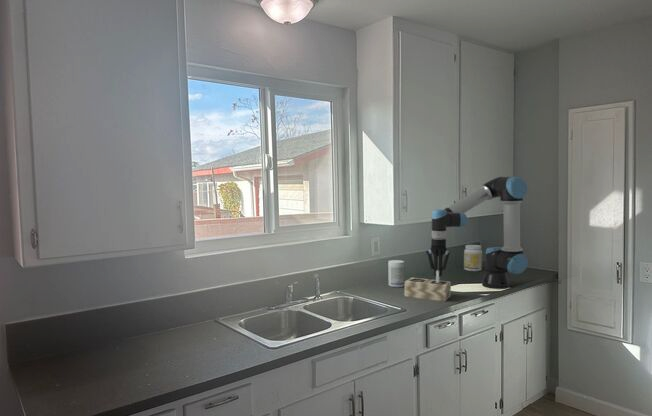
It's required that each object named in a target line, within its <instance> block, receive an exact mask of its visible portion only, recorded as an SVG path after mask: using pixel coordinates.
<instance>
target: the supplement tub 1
mask: <svg viewBox="0 0 652 416" xmlns="http://www.w3.org/2000/svg"><path fill="white" fill-rule="evenodd" d="M387 267H388V268H387V269H388V270H387V271H388V274H387V275H388V278H387V279H388V280H387V281H388V286H389V287H392V288H403V287H405V281H406V280H405V273H406V272H405V270H406V269H405V268H406V266H405V261H404V260H401V259H393V260H388V265H387Z"/></svg>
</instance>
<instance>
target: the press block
mask: <svg viewBox="0 0 652 416" xmlns="http://www.w3.org/2000/svg"><path fill="white" fill-rule="evenodd" d="M414 280H421V282H420V281H414ZM434 282H436V279H428V278H419V277H410V278H408V279H406V280H405V285H404V293H403V294H404V295H403V296H404V297H408V298H415V299H423V300H424V299H425V300H430V301H439V302H446V301H448V299H449V298H450V297H452V295H451V291H452V289H451V286H452V283H451V281H447V280H440V282H441V283H442V284H438V283H434Z"/></svg>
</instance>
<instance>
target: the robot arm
mask: <svg viewBox="0 0 652 416" xmlns="http://www.w3.org/2000/svg"><path fill="white" fill-rule="evenodd" d="M527 185H528V184H527V183H526V181H525V180H524V179H523V178H522V177H519V176H518V177H517V176H498V177H495V178H493V179H491V180H489V181H487V182H485V183H483V184H482V185H480V186H479V188H478V189H477V190H475V191H473V192H472V193H470V194H468V195H466V196H465V197H462V198H461V199H460V200H458V201H456V202H454V203H453V204H451V205H450V206H448V207H445V208H444V209H442V208H441V209H439V208H438V209H437V208H436V209H433V210H432V213H431V244H430V245H431V247H430V248H429V249H428V250H426V255H427V256H428V262H429V266H430V269H431V270H433V272H434V273H433V275H434V277H435V280H436V283H439V282H440V281H441V277H442V276H443V271H444V270H446V268H447V264H448V261H449V257H450V255H452V252H451V251H449V250H448V249H447V240H446V238H447V228H461V227H465V226H466V225H467V223H468V216H467V215H466V213H467V212H469V211H471V210H472V209H474V208H475V207H476V206H478V205H480V204H482V203H484V202H485V201H491V200H492V199H496V198H500V199H499V200H500V202H501V204H502V205H503V208H502V209H503V246H501V247H500V246H499V247H497V246H495V247H487V248H486V250H485V272H484V275H483V278H482V281H481V286H483V287H485V288H489V289H498V290H499V289H500V290H501V289H509V288H510V281H509V278H508V275H507V273H509V274H512V275H513V274H514V275H520V274H522V273H523V272H525V270H527V268H528V264H529V261H528V257H527V256H526V255H525V254H524V249H523V248H522V247H521V203H522V202H523V201H524V197H526V194H527V193H528V186H527ZM444 255H445V257H444ZM443 258H444V261H443ZM433 259H434V260H433Z"/></svg>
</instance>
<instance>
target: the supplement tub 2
mask: <svg viewBox="0 0 652 416" xmlns="http://www.w3.org/2000/svg"><path fill="white" fill-rule="evenodd" d="M482 269H483V250H482V245H480V244H479V245H478V244H466V245H465V249H464V251H463V270H465V271H469V272H480V271H482Z"/></svg>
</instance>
